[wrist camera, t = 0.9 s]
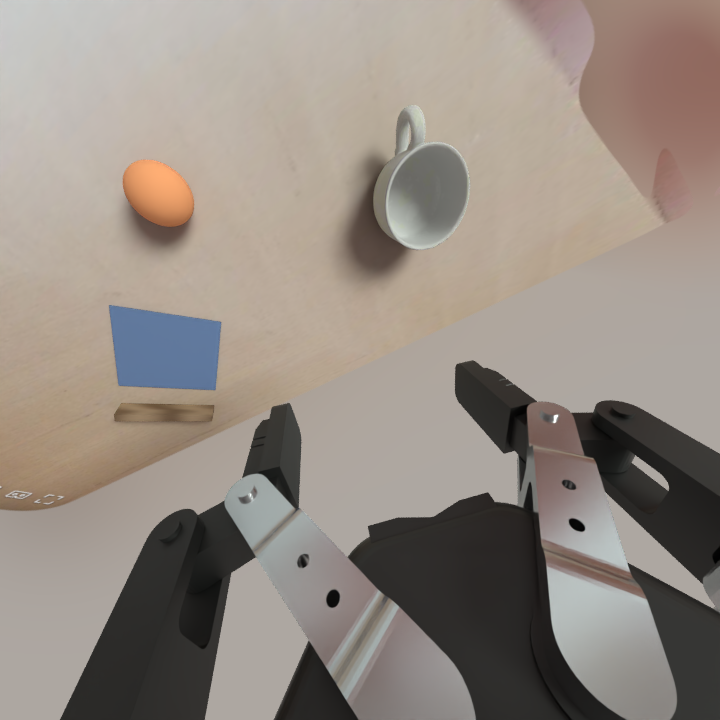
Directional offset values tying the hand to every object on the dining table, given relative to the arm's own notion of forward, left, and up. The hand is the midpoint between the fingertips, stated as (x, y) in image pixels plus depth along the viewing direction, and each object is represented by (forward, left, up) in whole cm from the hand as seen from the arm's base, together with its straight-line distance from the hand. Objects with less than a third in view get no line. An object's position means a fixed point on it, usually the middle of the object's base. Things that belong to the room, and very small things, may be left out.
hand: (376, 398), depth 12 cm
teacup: (+11, +13, -30) cm, 35 cm away
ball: (-15, +3, -27) cm, 31 cm away
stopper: (-15, -27, -30) cm, 42 cm away
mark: (-15, -17, -30) cm, 37 cm away
